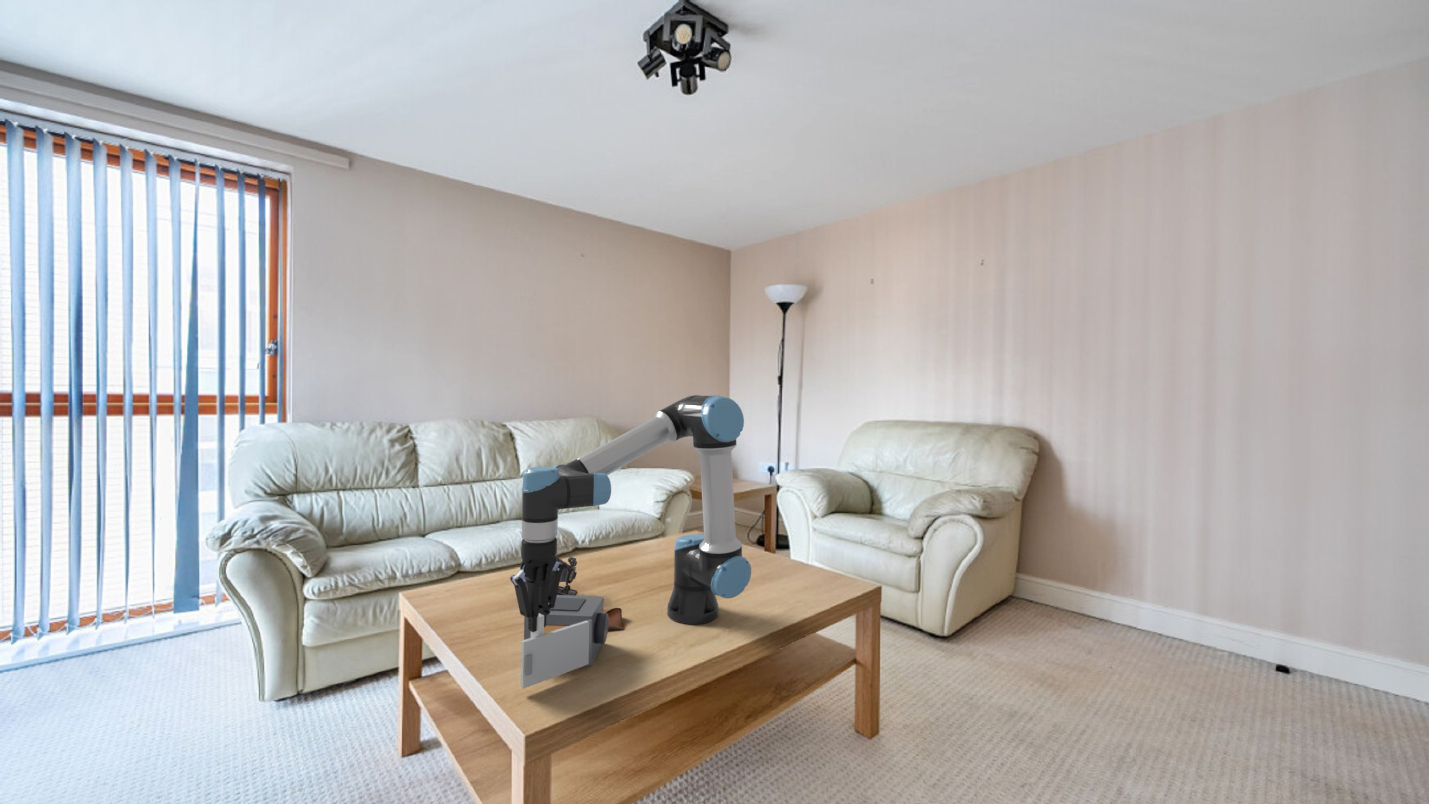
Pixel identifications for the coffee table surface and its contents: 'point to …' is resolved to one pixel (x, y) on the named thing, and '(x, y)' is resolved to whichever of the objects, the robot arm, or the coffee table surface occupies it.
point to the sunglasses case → (615, 619)
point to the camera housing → (577, 618)
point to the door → (556, 653)
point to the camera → (566, 577)
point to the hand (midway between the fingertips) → (536, 643)
